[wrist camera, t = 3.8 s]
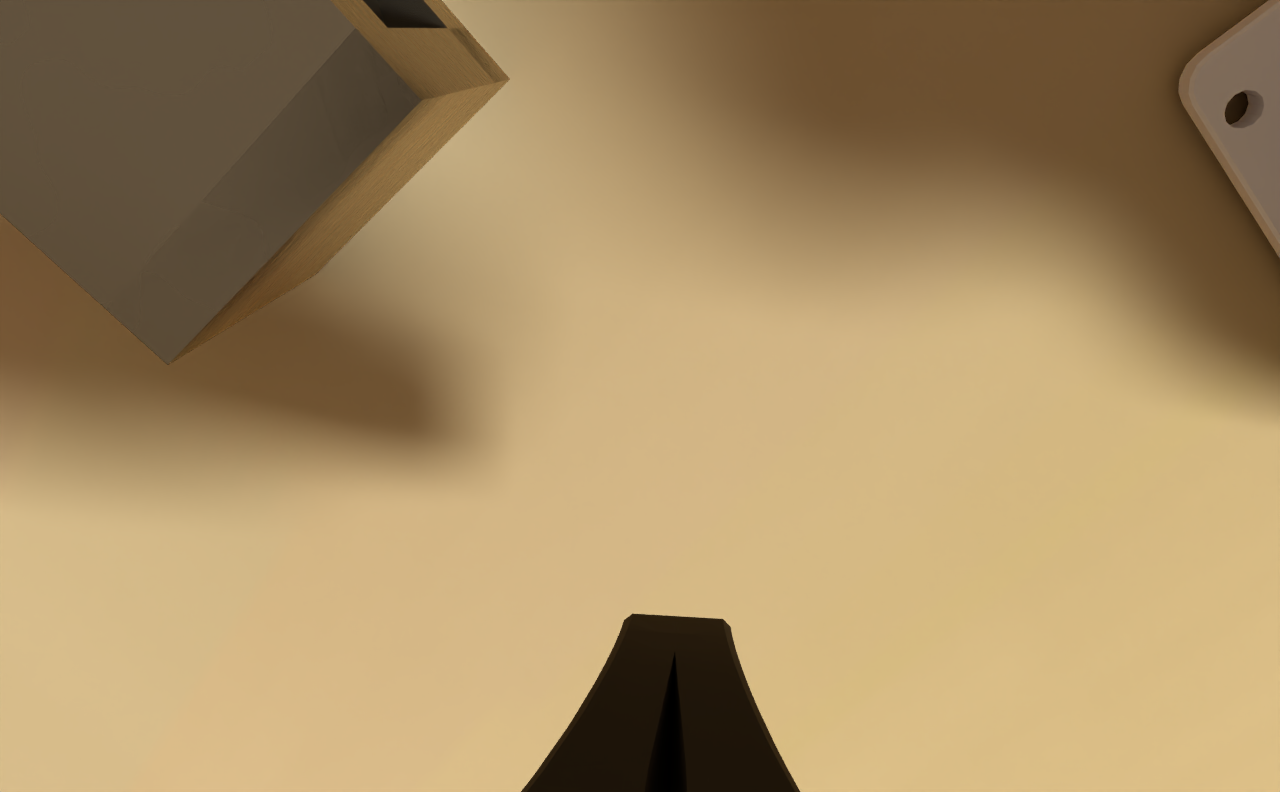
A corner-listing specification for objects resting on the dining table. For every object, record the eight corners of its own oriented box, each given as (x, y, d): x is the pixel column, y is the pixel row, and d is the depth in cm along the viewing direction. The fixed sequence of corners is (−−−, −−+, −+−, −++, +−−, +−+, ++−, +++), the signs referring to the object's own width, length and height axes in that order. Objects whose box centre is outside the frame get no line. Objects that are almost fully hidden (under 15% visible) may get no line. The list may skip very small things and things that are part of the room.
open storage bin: (510, 78, 14) (422, 100, 10) (315, 274, 15) (167, 364, 11) (272, -196, 12) (52, -306, 8) (87, 48, 14) (-175, 56, 10)
